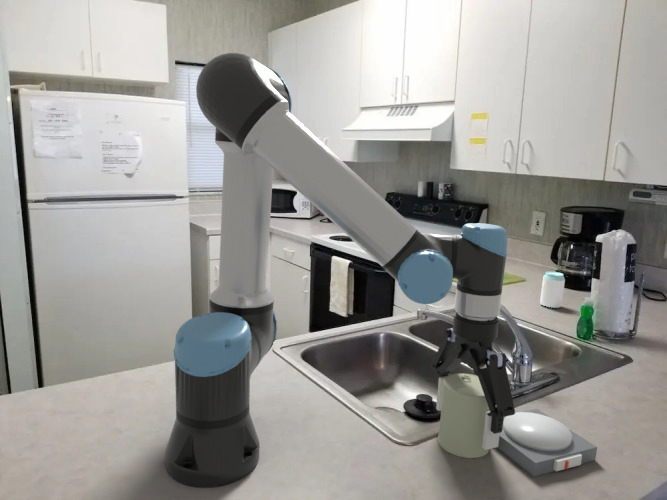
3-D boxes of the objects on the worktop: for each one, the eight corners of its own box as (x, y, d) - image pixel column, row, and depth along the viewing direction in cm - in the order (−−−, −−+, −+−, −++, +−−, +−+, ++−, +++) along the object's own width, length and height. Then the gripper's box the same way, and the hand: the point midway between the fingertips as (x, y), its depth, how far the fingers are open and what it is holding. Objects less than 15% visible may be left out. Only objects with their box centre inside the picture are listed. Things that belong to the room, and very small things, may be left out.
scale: (538, 480, 83) (540, 461, 82) (478, 432, 97) (480, 415, 96) (600, 463, 88) (603, 445, 88) (535, 420, 102) (537, 404, 101)
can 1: (480, 430, 98) (486, 371, 95) (497, 459, 88) (504, 394, 86) (432, 429, 97) (437, 370, 95) (444, 458, 88) (450, 393, 86)
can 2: (563, 310, 177) (568, 276, 175) (542, 308, 178) (546, 274, 176) (558, 304, 184) (562, 271, 182) (537, 302, 185) (541, 270, 183)
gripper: (548, 337, 78) (532, 462, 82) (451, 292, 101) (442, 392, 105) (510, 342, 75) (495, 471, 79) (418, 295, 98) (410, 398, 102)
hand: (465, 427), depth 92 cm, fingers open, 13 cm apart
